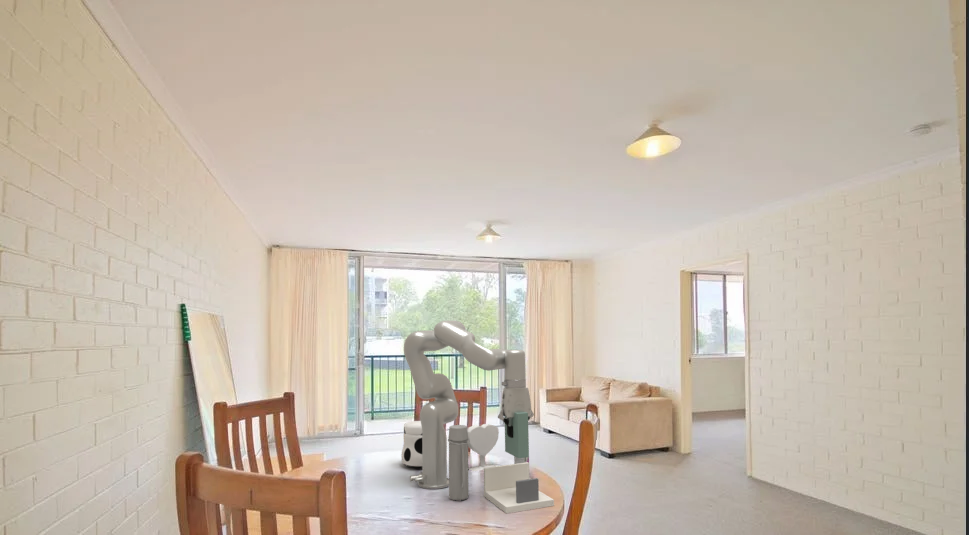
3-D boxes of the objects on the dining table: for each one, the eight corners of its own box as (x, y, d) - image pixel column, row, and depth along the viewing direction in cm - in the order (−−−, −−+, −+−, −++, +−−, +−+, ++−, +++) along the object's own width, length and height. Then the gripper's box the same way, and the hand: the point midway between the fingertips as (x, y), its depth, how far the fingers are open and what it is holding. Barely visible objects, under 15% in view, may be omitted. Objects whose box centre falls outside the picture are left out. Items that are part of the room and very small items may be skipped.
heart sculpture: (493, 463, 235) (493, 422, 237) (500, 466, 231) (499, 424, 233) (464, 469, 226) (463, 426, 228) (470, 472, 222) (470, 428, 224)
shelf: (506, 513, 174) (506, 482, 175) (483, 496, 191) (483, 467, 192) (554, 505, 181) (553, 475, 182) (528, 489, 198) (527, 462, 199)
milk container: (402, 461, 241) (402, 420, 243) (440, 459, 243) (440, 419, 245) (400, 471, 224) (400, 428, 226) (441, 470, 226) (441, 426, 228)
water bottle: (444, 496, 191) (444, 425, 194) (465, 493, 194) (464, 423, 197) (453, 504, 183) (453, 430, 185) (474, 501, 186) (474, 428, 188)
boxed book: (518, 458, 182) (517, 413, 184) (505, 451, 192) (504, 409, 194) (529, 457, 184) (528, 412, 185) (515, 450, 194) (514, 408, 196)
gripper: (498, 386, 184) (499, 440, 182) (540, 384, 191) (542, 436, 189) (490, 384, 191) (490, 436, 189) (531, 382, 197) (532, 432, 195)
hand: (516, 435), depth 189 cm, fingers closed on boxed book, 4 cm apart
